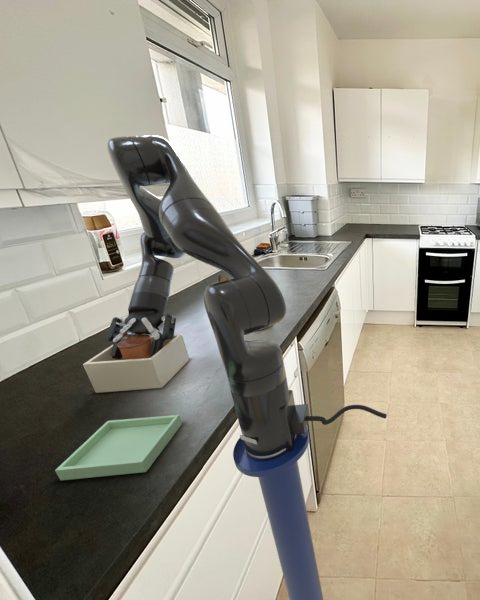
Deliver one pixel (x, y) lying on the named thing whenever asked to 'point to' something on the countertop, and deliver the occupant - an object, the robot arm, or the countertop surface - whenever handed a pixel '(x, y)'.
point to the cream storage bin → (137, 368)
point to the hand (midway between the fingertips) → (135, 357)
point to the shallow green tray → (120, 448)
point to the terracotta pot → (135, 347)
